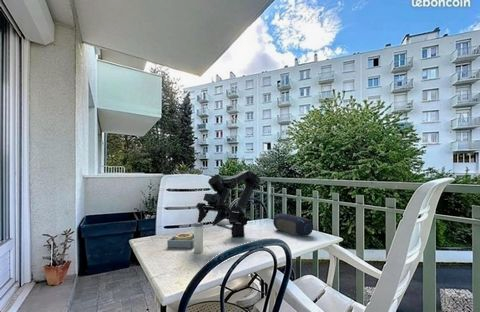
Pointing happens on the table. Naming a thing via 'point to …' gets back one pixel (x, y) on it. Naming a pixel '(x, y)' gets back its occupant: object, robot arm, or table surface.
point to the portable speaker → (293, 224)
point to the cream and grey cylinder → (198, 237)
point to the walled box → (181, 241)
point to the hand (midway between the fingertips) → (205, 224)
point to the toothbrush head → (224, 222)
